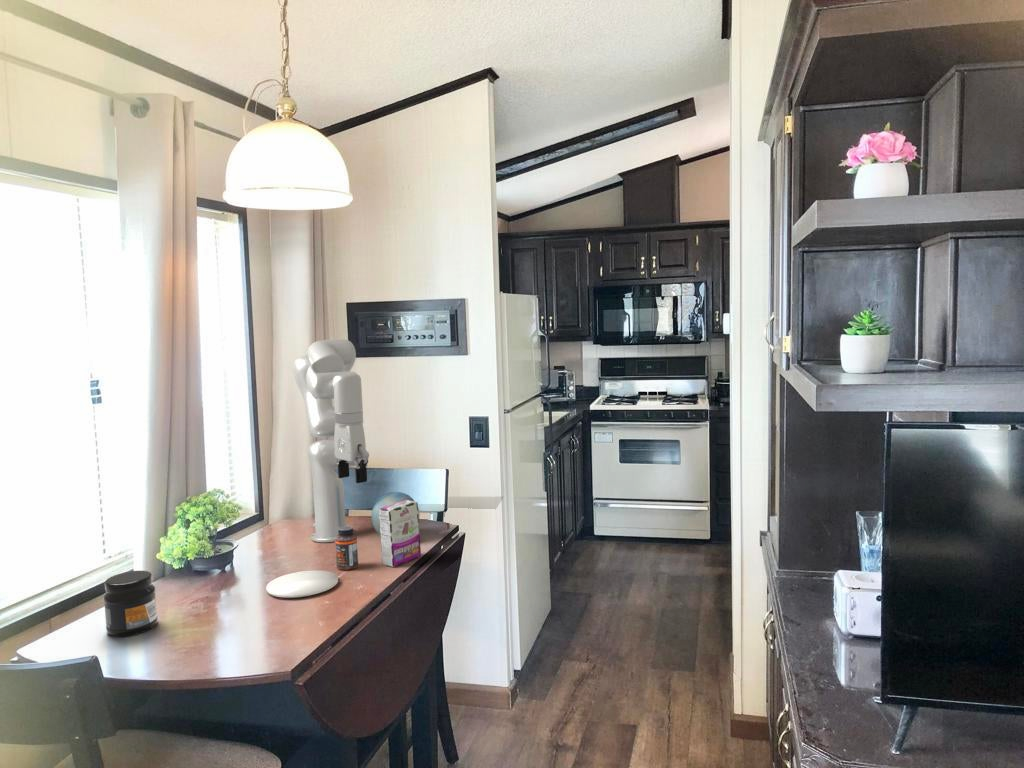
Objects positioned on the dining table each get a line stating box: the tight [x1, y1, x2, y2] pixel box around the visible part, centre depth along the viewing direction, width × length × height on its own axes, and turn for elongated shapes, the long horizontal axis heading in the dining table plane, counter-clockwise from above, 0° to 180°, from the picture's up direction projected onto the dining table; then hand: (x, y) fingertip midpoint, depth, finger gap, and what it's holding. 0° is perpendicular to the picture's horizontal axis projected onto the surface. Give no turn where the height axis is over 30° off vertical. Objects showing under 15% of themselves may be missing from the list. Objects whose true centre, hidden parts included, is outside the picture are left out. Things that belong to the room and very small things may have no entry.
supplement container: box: [102, 570, 159, 637], centre depth 163 cm, size 10×10×12 cm
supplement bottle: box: [334, 525, 359, 571], centre depth 200 cm, size 6×6×11 cm
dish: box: [265, 569, 339, 599], centre depth 186 cm, size 18×18×1 cm
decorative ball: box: [371, 491, 421, 536], centre depth 225 cm, size 15×15×15 cm
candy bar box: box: [379, 500, 422, 568], centre depth 203 cm, size 11×5×16 cm, turn 143°
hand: (352, 479), depth 198 cm, fingers open, 9 cm apart
